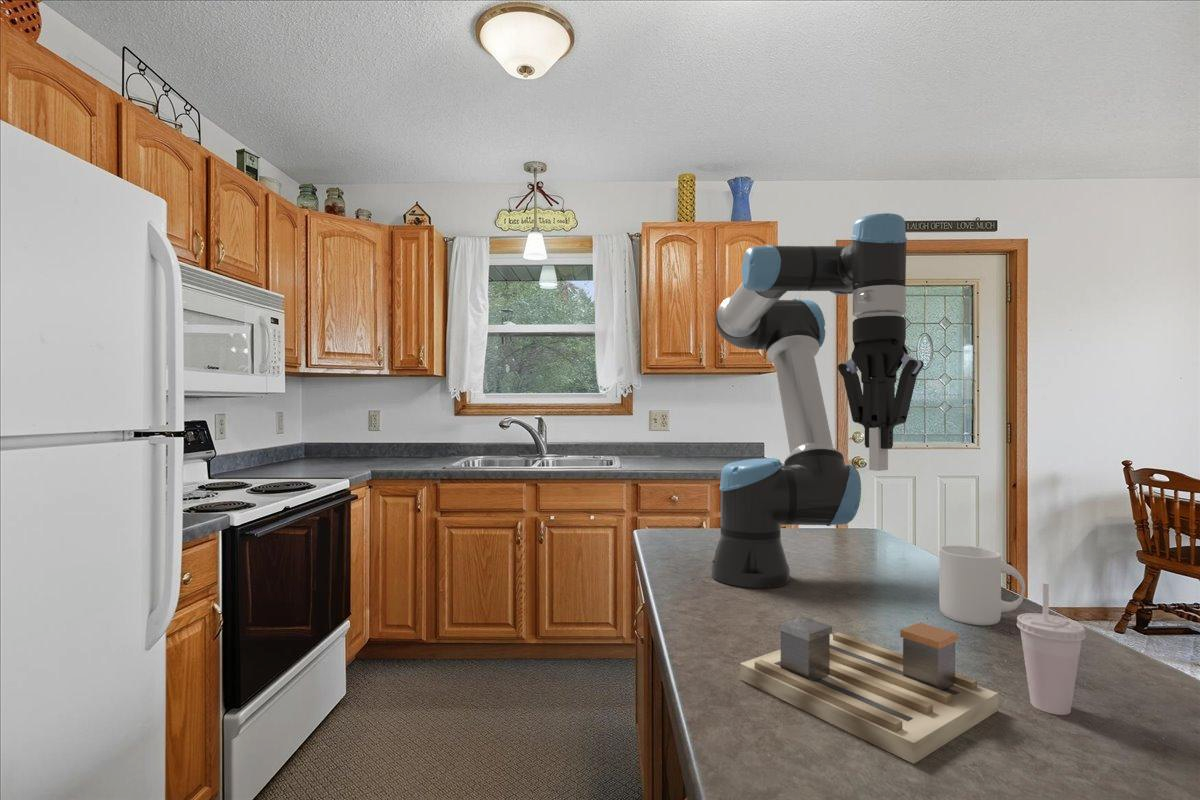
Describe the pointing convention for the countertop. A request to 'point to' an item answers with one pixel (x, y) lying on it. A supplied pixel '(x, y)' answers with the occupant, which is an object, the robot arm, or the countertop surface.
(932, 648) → the block
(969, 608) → the mug
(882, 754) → the countertop surface
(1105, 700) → the countertop surface
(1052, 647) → the smoothie
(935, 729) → the beige flat board
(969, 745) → the countertop surface
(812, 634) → the fader
